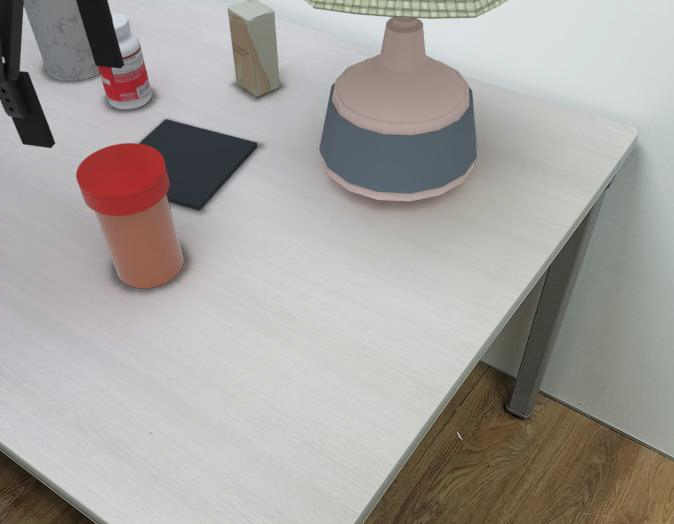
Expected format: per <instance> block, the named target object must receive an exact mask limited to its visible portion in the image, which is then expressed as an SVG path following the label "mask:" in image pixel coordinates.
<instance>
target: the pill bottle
mask: <svg viewBox="0 0 674 524" xmlns="http://www.w3.org/2000/svg"><path fill="white" fill-rule="evenodd" d="M111 15H112V19H113V25H114V28H115V32H116V36H117V40H118V43H119V47H120V51H121V54H122V58H123V62H124V66H123V67H122V68H121V69H120V68H111V67H102V66H98V69H99V73H100V74H99V77H100V79H101V83H102V85H103V89H104V92H105V96H106V99H107V102H108V103H109V105H111V106H112V107H114V108H115V109H118V110H135V109H138V108H140V107H143V106H145V105H146V104H147V103H148V102H150V100H151V99H152V95H153V92H152V87H151V83H150V79H149V75H148V71H147V68H146V62H145V59H144V55H143V51H142V46H141V42H140V39H139V37H138V35H136V34H135V33H134V32H133V31H131V24H130V21H129V18H128V16H127V15H126V14H124V13H120V12H111Z"/></svg>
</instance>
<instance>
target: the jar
mask: <svg viewBox="0 0 674 524" xmlns="http://www.w3.org/2000/svg"><path fill="white" fill-rule="evenodd" d="M94 214H95V217H96V220H97V222H98V225H99V227H100V231H101V233H102V237H103V239H104V241H105V244H106V247H107V250H108V253H109V255H110V258H111V261H112V264H113V267H114V269H115V272H116V275H117V277H118V279H119V280H120V281H121V282H122V283H123V284H125V285H127V286H128V287H131V288H135V289H152V288H157V287H160V286H163V285H165V284H167V283H169V282H171V281H172V280H174V279H175V278H176V277H177V276H178V275H179V274H180V272H181V271H182V269H183V267H184V261H185V260H184V254H183V251H182V247H181V243H180V238H179V235H178V231H177V227H176V224H175V220H174V215H173V212H172V208H171V204H170V201H169V200H168V196H167V194H166V195H165V196H164V198H163V199H162V200H161V201H160V202H158V203H157V204H156V205H154V206H153V207H151V208H149V209H147V210H144V211H142V212H139V213H135V214H131V215H124V216H110V215H104V214H101V213H98V212H96V211H94Z"/></svg>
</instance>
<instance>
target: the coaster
mask: <svg viewBox="0 0 674 524" xmlns="http://www.w3.org/2000/svg"><path fill="white" fill-rule="evenodd" d="M138 144H143V145H147V146H150V147H152V148H154V149H156V150H157V151H159V152H160V153H161V155H162V156H163V158H164V161H165V165H166V169H167V173H168V177H169V182H170V185H169V189H168V192H167V196H168V200H169V203H174V204H177V205H180V206H184V207H187V208H191V209H194V210H198V211H200V210H201V209H202V208H203V207H204V206H205V205H206V204H207V203H208V202H209V201H210V199H211V198H212V197H213V196H214V195H215V194H216V193H217V192H218V191H219V189H220V188H222V186H223V185H224V184H225V183H226V182H227V181H228V180H229V178H231V176H232V175H233V174H234V173H235V172H236V171H237V170H238V168H240V167H241V165H242V164H243V163H244V162H245V161H246V160H247V158H249V157H250V156H251V154H252V153H253V152H254V151H255V150H256V149H257V148H258V141H257V142H256V141H254V140H253V141H252V140H249V139H245V138H241V137H238V136H234V135H229V134H227V133H222V132H218V131H214V130H210V129H206V128H203V127H198V126H195V125H191V124H187V123H183V122H179V121H175V120H172V119H166V118H165V119H164V120H162V122H161V123H159V124H158V125H157V126H156V127H155V128H154V129H153V130H151V132H149V133H148V134H147V135H146V136H145V137H144V138H143V139H142V140H141V141H140V142H139V143H138Z"/></svg>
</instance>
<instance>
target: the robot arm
mask: <svg viewBox="0 0 674 524" xmlns="http://www.w3.org/2000/svg"><path fill="white" fill-rule="evenodd" d="M76 2H77V5H78V9H79V12H80V15H81V19H82V22H83V25H84V29H85V32H86V35H87V39H88V42H89V45H90V49H91V52H92V55H93V58H94V62H95V65H96V66H102V67H111V68H120V69H121V68H122V67H123V66H124V62H123V58H122V54H121V51H120V47H119V43H118V40H117V36H116V32H115V28H114V25H113V19H112V15H111V13H112V11H111V9H110V8H111V7H110V4H109V1H108V0H76ZM23 23H24V0H0V104H1V105H2V108H3V112H4V113H5V114H6V115H7V116H8V117H11V120H12V123H13V125H14V127H15V130H16V131H17V134H18V136H19V139H20V142H21V144H22V145H25V146H33V147H40V148H46V149H52V148H53V147H54V146H55V144H56V141H55V138H54V136H53V133H52V131H51V128H50V125H49V123H48V120H47V117H46V114H45V113H44V110H43V107H42V104H41V102H40V98H39V96H38V94H37V91H36V89H35V86H34V84H33V81H32V78H31V75H30V73H29V72H28V71H22V70H21V57H22V41H23V40H22V39H23ZM3 59H4V61H3Z"/></svg>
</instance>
